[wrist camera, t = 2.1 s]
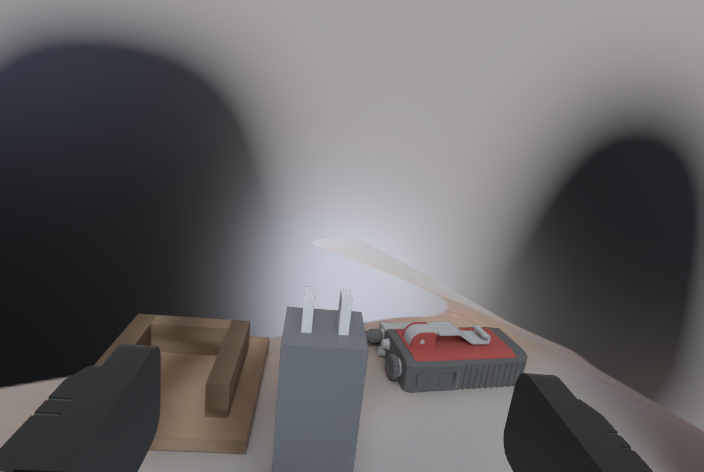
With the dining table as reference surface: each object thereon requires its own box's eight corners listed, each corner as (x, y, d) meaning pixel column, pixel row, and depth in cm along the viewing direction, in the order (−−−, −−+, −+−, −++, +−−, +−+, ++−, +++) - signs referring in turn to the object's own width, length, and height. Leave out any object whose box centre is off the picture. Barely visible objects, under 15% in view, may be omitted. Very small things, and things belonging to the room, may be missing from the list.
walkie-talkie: (486, 339, 48) (296, 345, 43) (494, 301, 47) (300, 301, 42) (537, 389, 40) (311, 404, 35) (549, 345, 39) (316, 352, 34)
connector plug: (341, 476, 28) (365, 281, 25) (344, 535, 24) (373, 314, 21) (275, 473, 28) (289, 275, 24) (267, 533, 24) (283, 308, 20)
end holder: (268, 347, 41) (270, 311, 40) (245, 453, 29) (247, 406, 28) (130, 338, 40) (129, 302, 39) (44, 445, 28) (40, 395, 27)
